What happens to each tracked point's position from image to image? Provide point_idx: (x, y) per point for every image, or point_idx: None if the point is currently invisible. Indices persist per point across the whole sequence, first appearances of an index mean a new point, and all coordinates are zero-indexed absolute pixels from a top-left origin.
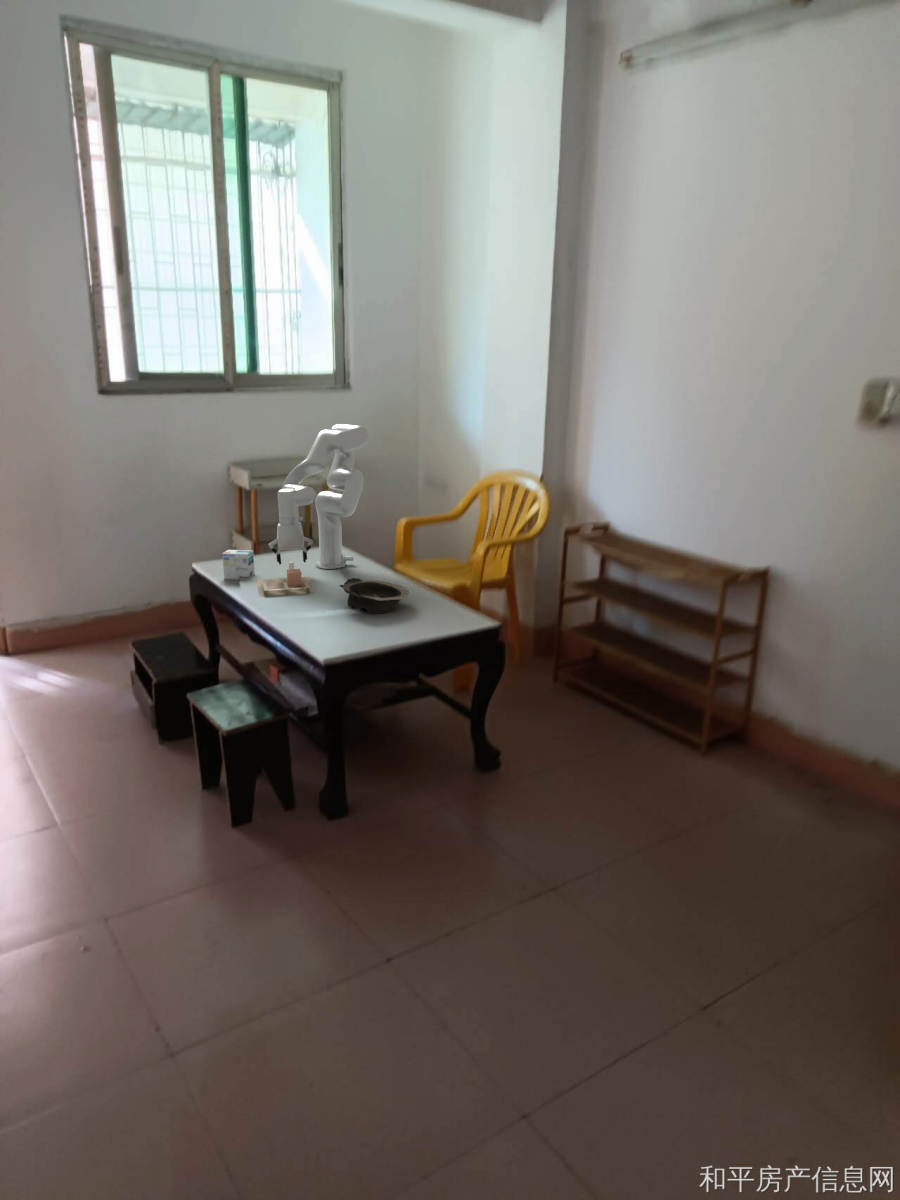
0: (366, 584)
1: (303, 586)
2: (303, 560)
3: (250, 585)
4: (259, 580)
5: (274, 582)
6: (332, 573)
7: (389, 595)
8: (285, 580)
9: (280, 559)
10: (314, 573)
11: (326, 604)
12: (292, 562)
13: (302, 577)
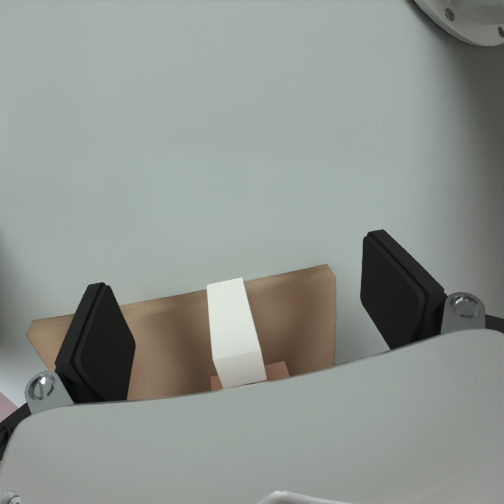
0: None
1: None
2: (365, 274)
3: (24, 345)
4: (47, 347)
5: (139, 380)
6: (464, 126)
7: None
8: (193, 353)
9: (126, 382)
10: (376, 100)
11: None
12: (253, 371)
13: (300, 295)
